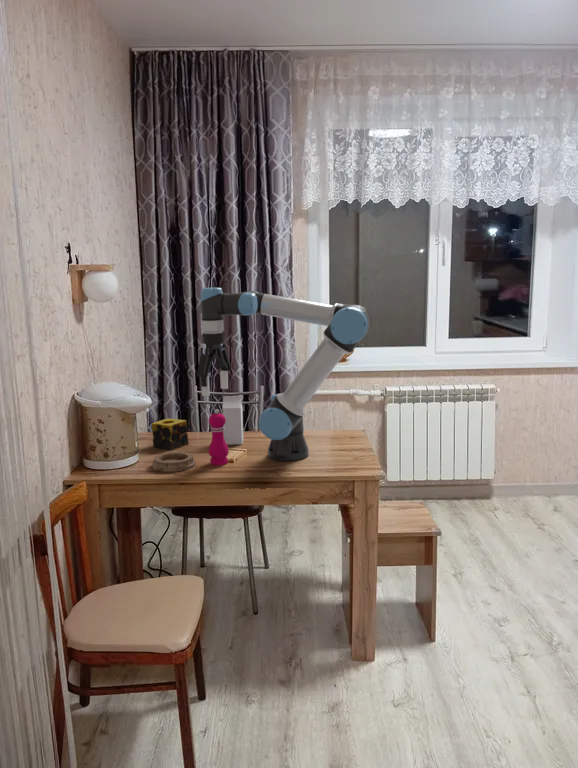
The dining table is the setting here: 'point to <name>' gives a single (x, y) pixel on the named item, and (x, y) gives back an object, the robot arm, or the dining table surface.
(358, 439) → the dining table surface
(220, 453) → the pepper mill
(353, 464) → the dining table surface
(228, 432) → the milk carton
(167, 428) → the black yellow cube
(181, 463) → the grey brown stone ring
